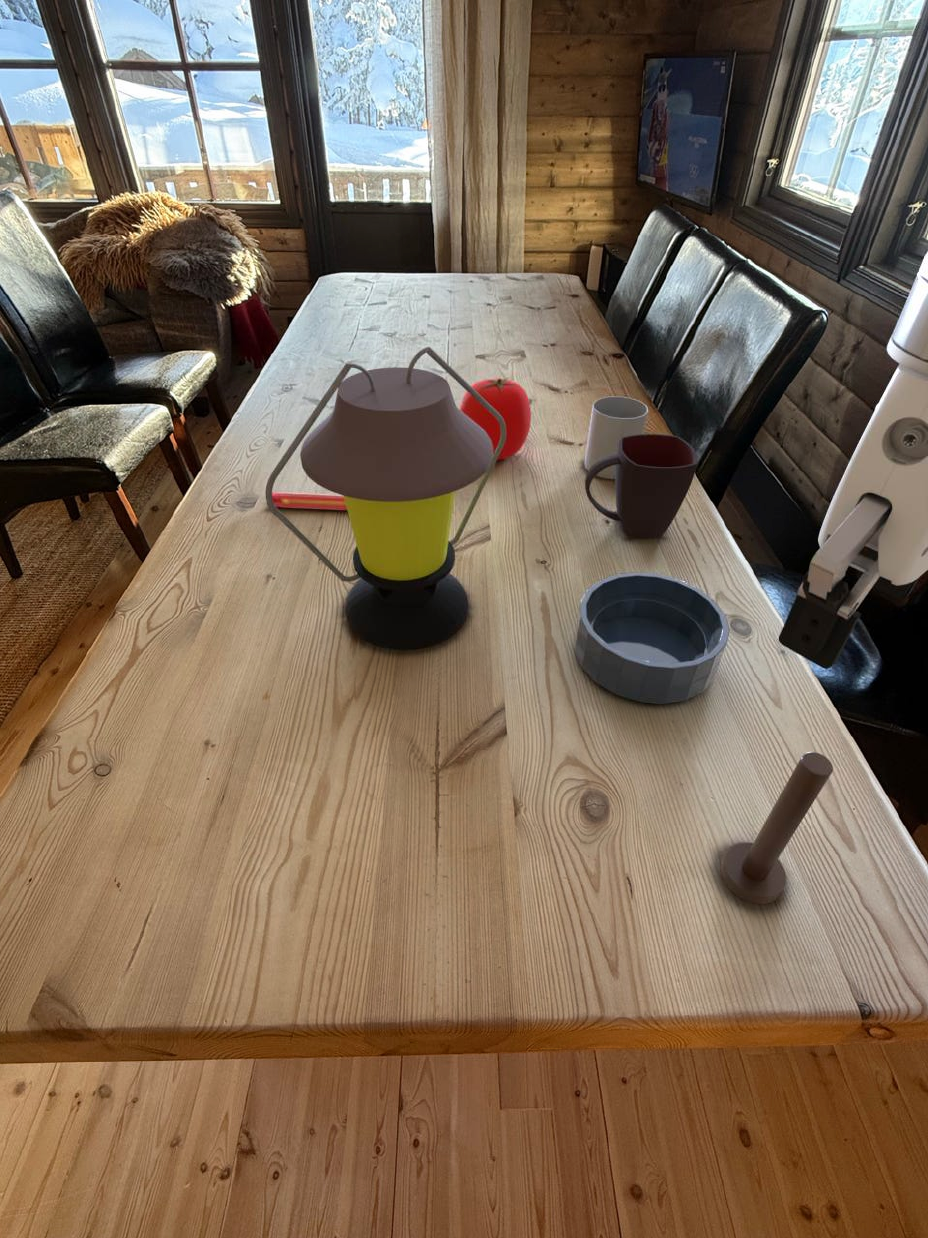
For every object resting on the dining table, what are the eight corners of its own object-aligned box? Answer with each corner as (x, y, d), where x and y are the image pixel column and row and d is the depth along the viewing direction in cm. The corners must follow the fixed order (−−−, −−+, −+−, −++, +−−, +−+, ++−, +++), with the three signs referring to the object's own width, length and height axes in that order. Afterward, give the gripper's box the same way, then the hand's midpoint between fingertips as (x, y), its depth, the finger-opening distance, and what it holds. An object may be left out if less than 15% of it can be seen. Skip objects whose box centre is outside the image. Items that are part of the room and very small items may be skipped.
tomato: (541, 462, 108) (549, 386, 100) (478, 476, 104) (480, 399, 96) (506, 432, 116) (510, 359, 108) (446, 444, 113) (445, 370, 104)
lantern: (294, 672, 71) (234, 403, 52) (306, 567, 85) (262, 326, 66) (520, 656, 73) (544, 392, 54) (494, 556, 88) (506, 320, 68)
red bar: (276, 502, 99) (266, 509, 95) (275, 488, 98) (265, 494, 94) (435, 509, 98) (431, 517, 94) (435, 495, 97) (431, 502, 93)
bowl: (723, 634, 77) (738, 594, 73) (701, 728, 66) (717, 686, 62) (595, 598, 81) (602, 559, 77) (555, 680, 71) (561, 639, 67)
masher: (783, 863, 55) (856, 749, 45) (778, 914, 52) (856, 804, 42) (724, 840, 57) (782, 726, 47) (716, 889, 53) (776, 777, 43)
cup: (596, 450, 112) (605, 392, 105) (643, 462, 108) (655, 403, 102) (576, 470, 106) (584, 410, 99) (625, 484, 103) (636, 423, 96)
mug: (685, 547, 90) (707, 467, 82) (585, 549, 89) (598, 470, 81) (664, 508, 97) (683, 432, 90) (572, 511, 97) (582, 434, 89)
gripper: (1020, 406, 23) (835, 725, 34) (1146, 313, 31) (964, 592, 43) (816, 348, 27) (711, 648, 39) (975, 280, 36) (851, 542, 47)
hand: (844, 618), depth 41 cm, fingers open, 9 cm apart
